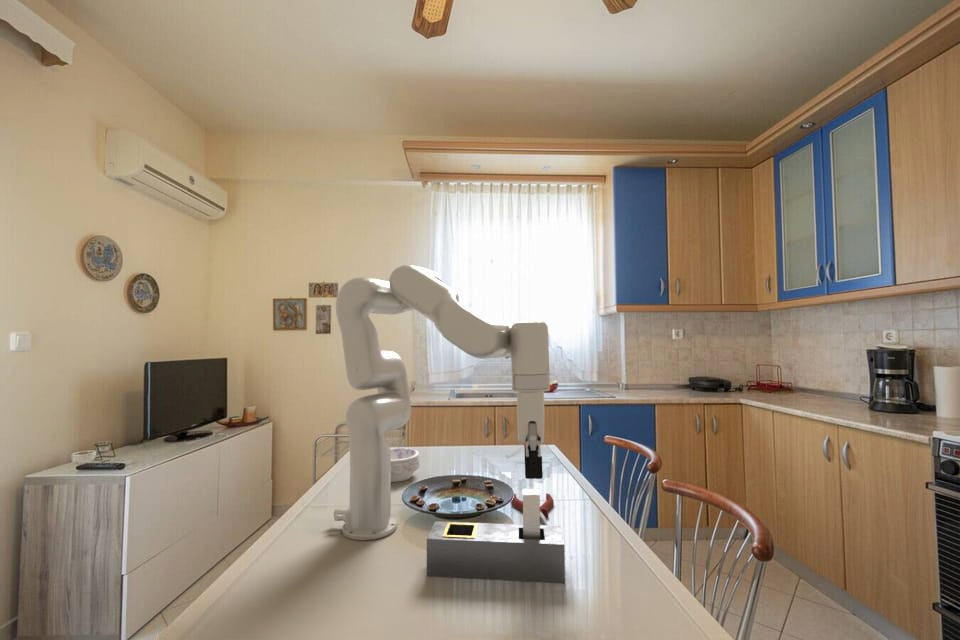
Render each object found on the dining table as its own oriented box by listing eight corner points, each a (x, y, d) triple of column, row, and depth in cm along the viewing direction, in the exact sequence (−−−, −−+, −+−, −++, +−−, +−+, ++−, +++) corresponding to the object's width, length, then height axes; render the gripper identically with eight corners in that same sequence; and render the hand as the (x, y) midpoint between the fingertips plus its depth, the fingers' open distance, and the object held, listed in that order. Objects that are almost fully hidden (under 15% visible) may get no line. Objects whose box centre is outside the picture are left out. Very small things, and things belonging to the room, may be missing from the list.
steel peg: (523, 563, 83) (522, 494, 83) (523, 555, 86) (522, 489, 87) (540, 564, 83) (539, 495, 83) (539, 555, 86) (538, 489, 86)
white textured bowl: (362, 483, 136) (363, 457, 136) (386, 469, 151) (387, 446, 151) (406, 487, 132) (406, 461, 132) (427, 472, 146) (427, 449, 147)
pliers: (517, 533, 101) (517, 522, 101) (510, 501, 121) (510, 491, 122) (566, 533, 101) (566, 521, 102) (551, 501, 122) (550, 491, 122)
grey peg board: (426, 576, 82) (426, 537, 83) (435, 555, 90) (435, 520, 91) (564, 583, 80) (564, 543, 80) (561, 561, 88) (560, 525, 88)
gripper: (512, 379, 95) (514, 458, 94) (510, 387, 78) (513, 484, 77) (547, 379, 94) (549, 458, 93) (552, 387, 77) (555, 485, 76)
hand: (533, 470), depth 85 cm, fingers open, 9 cm apart
